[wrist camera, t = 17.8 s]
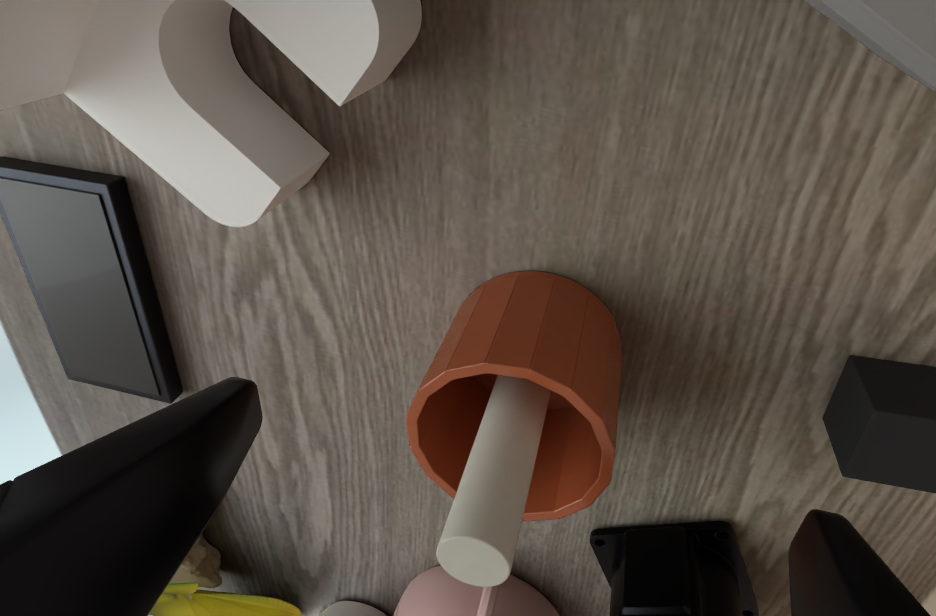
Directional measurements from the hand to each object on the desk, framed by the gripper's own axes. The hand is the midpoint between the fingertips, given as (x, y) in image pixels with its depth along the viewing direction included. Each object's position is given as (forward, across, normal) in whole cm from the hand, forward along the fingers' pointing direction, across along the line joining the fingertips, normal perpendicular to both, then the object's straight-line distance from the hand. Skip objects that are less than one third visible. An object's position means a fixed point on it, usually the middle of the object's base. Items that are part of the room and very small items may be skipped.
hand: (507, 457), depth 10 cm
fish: (+9, +23, +31) cm, 40 cm away
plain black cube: (+13, -12, +6) cm, 19 cm away
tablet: (+13, +22, +9) cm, 27 cm away
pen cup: (+13, +1, +7) cm, 15 cm away
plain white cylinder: (+12, +1, +7) cm, 14 cm away
